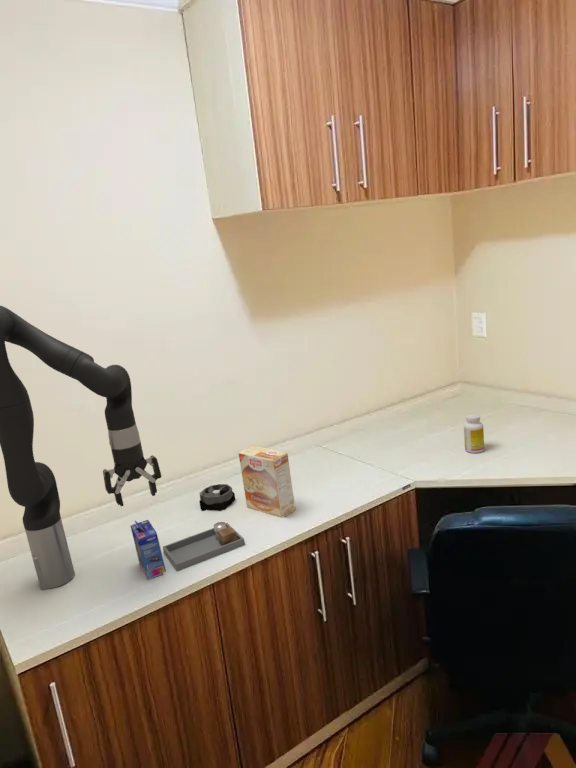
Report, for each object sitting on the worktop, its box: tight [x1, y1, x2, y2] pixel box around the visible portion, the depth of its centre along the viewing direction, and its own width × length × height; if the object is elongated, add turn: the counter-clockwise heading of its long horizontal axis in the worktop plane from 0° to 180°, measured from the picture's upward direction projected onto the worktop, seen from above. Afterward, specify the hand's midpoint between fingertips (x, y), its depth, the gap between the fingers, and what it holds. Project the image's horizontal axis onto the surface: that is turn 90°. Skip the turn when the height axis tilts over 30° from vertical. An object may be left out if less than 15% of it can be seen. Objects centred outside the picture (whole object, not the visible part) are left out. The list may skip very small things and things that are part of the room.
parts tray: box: [162, 522, 246, 572], centre depth 165 cm, size 20×12×2 cm, turn 119°
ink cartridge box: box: [129, 519, 167, 580], centre depth 158 cm, size 10×6×14 cm, turn 27°
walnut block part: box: [217, 526, 237, 546], centre depth 166 cm, size 4×4×4 cm
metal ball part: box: [213, 521, 227, 540], centre depth 170 cm, size 4×4×4 cm
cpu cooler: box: [199, 483, 236, 512], centre depth 192 cm, size 10×6×10 cm
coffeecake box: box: [238, 445, 296, 518], centre depth 183 cm, size 15×7×20 cm, turn 49°
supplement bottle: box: [463, 413, 485, 454], centre depth 208 cm, size 7×7×13 cm
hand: (137, 500), depth 155 cm, fingers open, 8 cm apart
